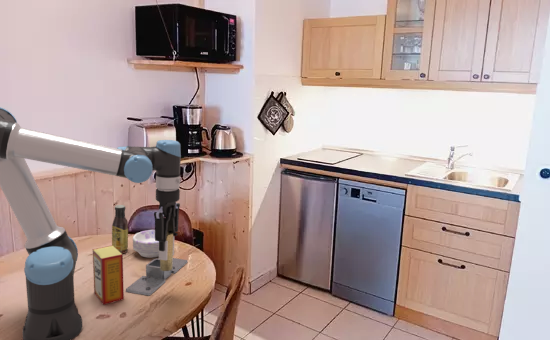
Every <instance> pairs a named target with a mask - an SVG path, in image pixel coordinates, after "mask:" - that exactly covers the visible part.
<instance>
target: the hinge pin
mask: <svg viewBox="0 0 550 340" xmlns="http://www.w3.org/2000/svg"><path fill="white" fill-rule="evenodd" d="M166 241H168V252H167V260H160V270H162V271H170V270H172V263H173V258H174V255H173V233H170V232H167V238H166Z"/></svg>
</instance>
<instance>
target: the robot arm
mask: <svg viewBox="0 0 550 340" xmlns="http://www.w3.org/2000/svg"><path fill="white" fill-rule="evenodd" d="M181 154H182V153H181V143H180V142H179V141H178V140H172V139H160V140H157V141H156V144H155V146H130V145H126V146H118V147H112V146H106V145H101V144H98V143H97V144H96V143H94V142H93V143H92V142H89V141H83V140H79V139H75V138H70V137H65V136H61V135H60V136H59V135H56V134H51V133H48V132H46V133H45V132H44V131H43V132H41V131H37V130H33V129H28V128H23V127H22V126H20V124H19V123H18V121H17V118H16V117H15V116H14V115H13V113H11V112H10V111H9V110H8V109H5V108H3V107H0V189H1V191H2V193H3V195H4V196H5V198H6V200H7V203H8V204H9V206H10V208H11V210H12V212H13V214H14V216H15V218H16V220H17V221H18V224H19V226H20V227H21V229H22V231H23V233H24V235H25V237H26V241H25V242H24V243H25V244H24V248H25V250H26V252H27V254H28V256H27V257H26V259H25V264H24V270H23V271H24V275H25V284H26V285H25V287H26V298H27V300H26V301H27V314H26V317H25V321H24V325H23V327H22V340H73V339H75V338H76V337H77V336H78V335H79V334H81V332H82V330H83V319H82V316H81V314H80V313H79V309H78V307H77V304H76V303H75V285H74V283H75V282H74V281H75V279H74V275H75V270H76V264H77V261H78V257H79V251H78V247H77V244H76V242H75V241H74V240H73V238H71V237H70V236H69V235H68V233H67V231H66V229H65V227H62V226H59V225H58V224H57V223H56V221H55V219H54V216H53V214H52V212H51V211H50V207H49V206H48V204H47V202H46V200H45V198H44V197H43V195H42V191H41V190H40V188H39V186H38V184H37V182H36V180H35V177H34V176H33V174H32V172H31V170H30V168H29V165H28V163H27V161H26V160H31V161H36V162H42V163H48V164H52V165H56V166H62V167H66V168H67V167H68V168H73V169H79V170H84V171H88V172H89V171H90V172H94V173H101V174H105V175H109V176H116V177H120V178H125V179H127V180H128V181H131V183H135V184H142V183H144V182H147V181H148V180H150V178H151V176H152V174H153V172H155V188H156V189H155V200H156V201H157V202H158V203H159V205H158V210H157V211H154V212H153V217H154V230H155V241H159V256H158V259H160V260H167V252H168V241H166V238H167V232H170V233H173V256H174V255H175V237H177V236H178V235H179V234H178V231H179V219H180V218H179V217H180V207H181V203H179V202H178V201H180V199H181V198H180V194H181V193H180V192H181V190H180V186H181V184H180V183H181V161H182V159H181V158H182V155H181Z"/></svg>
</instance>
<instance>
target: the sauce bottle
mask: <svg viewBox="0 0 550 340" xmlns="http://www.w3.org/2000/svg"><path fill="white" fill-rule="evenodd" d="M114 210H115V211H114V214H115V216H114V218H113V221H112V225H111V246H112V245H113V246H114V247H115V248H116V249H117V250H118V251H119V252H120V253H121V254H122V255H123V254H125V253H127V251H128V248H129V228H128V227H129V225H128V224H129V223H128V219H127V217H126V205H125V204H117V205H115V206H114Z"/></svg>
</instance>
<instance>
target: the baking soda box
mask: <svg viewBox="0 0 550 340" xmlns="http://www.w3.org/2000/svg"><path fill="white" fill-rule="evenodd" d="M92 268H93V292H94V295H95V296H96V298H98V300H99V301H100V302H101V303H102V305H104V306H105V305H108V304H111V303H115V302H119V301H122V300H124V297H125V296H124V291H125V290H124V288H125V287H124V259H123V253H122V254H121V253H120V252H119V251H118V250H117V249H116V248H115V247H114V246H113V245H112V244H111V245H108V246H102V247H98V248H92Z"/></svg>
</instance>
